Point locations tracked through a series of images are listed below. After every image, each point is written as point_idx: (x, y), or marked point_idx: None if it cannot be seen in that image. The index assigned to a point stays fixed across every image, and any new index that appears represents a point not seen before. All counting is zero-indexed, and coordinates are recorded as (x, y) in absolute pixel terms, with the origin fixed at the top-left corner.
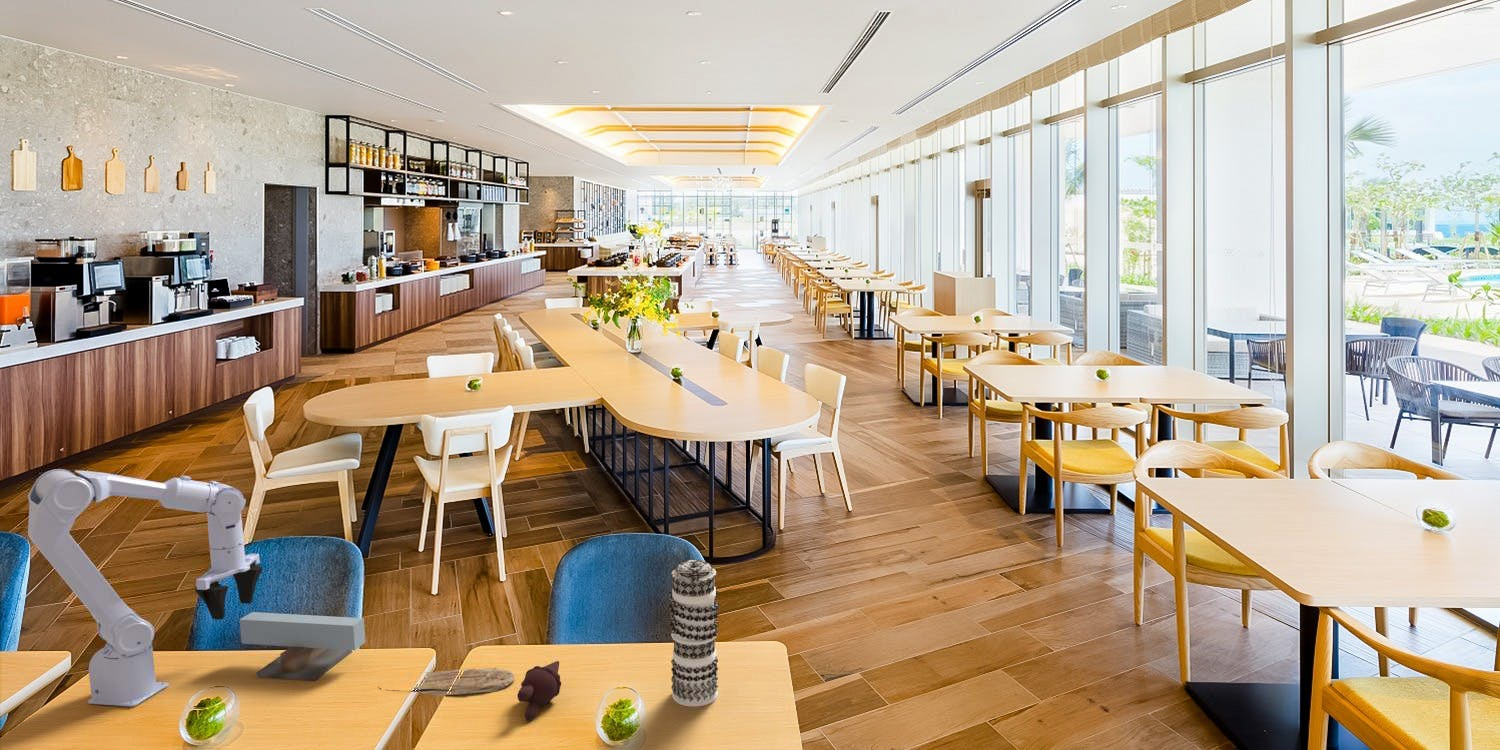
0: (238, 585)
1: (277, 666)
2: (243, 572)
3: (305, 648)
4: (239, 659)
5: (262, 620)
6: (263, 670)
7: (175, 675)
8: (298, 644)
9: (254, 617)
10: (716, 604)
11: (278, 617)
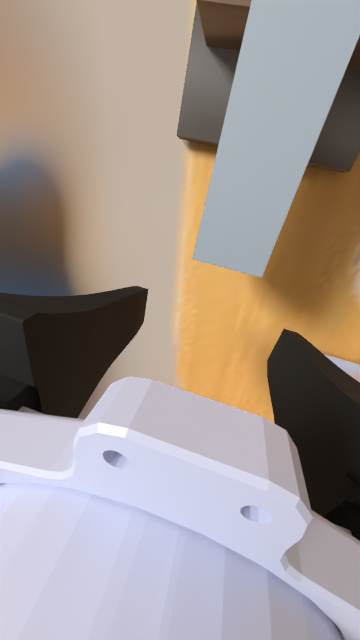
0: (105, 366)
1: (328, 114)
2: (56, 393)
3: None
4: (220, 268)
5: (307, 156)
6: (345, 151)
7: (268, 355)
8: None
9: (254, 222)
10: None
11: (287, 68)
